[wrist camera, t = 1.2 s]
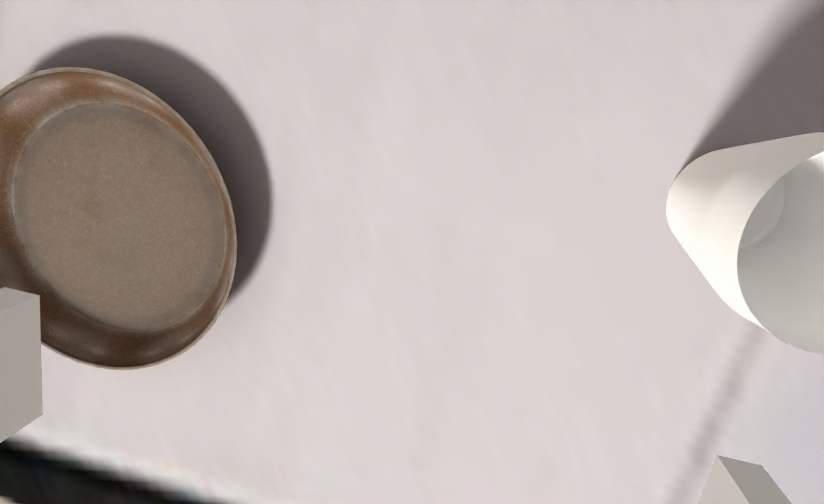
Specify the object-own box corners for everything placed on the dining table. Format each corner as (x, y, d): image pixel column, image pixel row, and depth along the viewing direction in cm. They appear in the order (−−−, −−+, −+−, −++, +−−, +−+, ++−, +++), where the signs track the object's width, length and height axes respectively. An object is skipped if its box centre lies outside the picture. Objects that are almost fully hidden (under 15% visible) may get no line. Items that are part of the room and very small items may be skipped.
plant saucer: (-57, 144, 38) (-106, 146, 35) (168, 16, 34) (135, 6, 30) (86, 383, 42) (53, 405, 39) (306, 297, 37) (289, 314, 34)
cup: (633, 266, 33) (710, 346, 22) (659, 121, 31) (761, 125, 19) (783, 281, 32) (948, 373, 21) (823, 132, 30) (1034, 143, 18)
